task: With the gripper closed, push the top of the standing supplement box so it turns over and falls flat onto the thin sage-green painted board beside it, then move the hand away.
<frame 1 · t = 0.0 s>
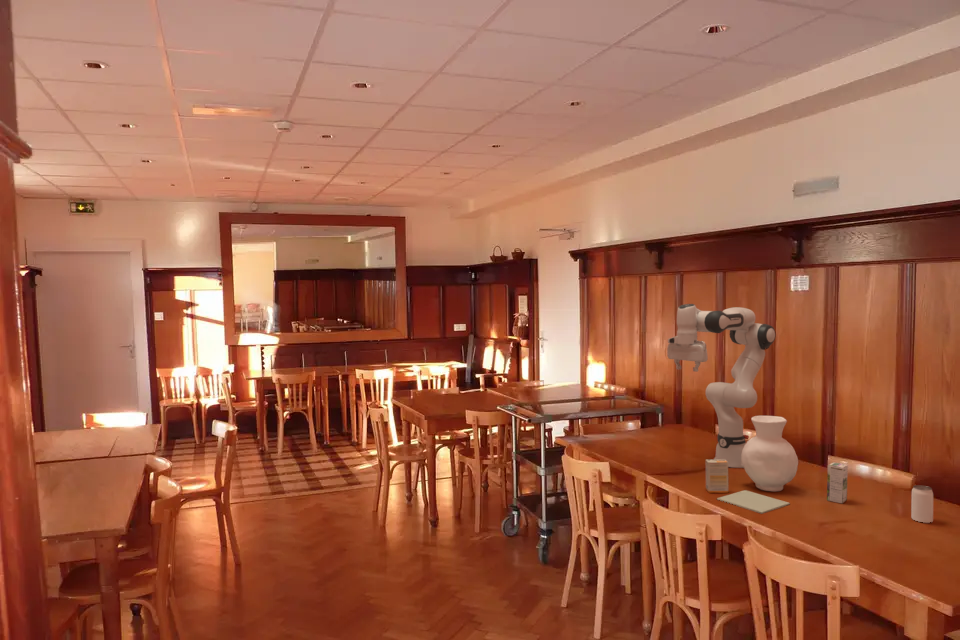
hand: (687, 370, 293), 48 cm above the table, fingers open, 8 cm apart
vase: (769, 488, 274), on the table
board: (752, 502, 257), on the table
syrup box: (837, 501, 256), on the table
supplement box: (716, 491, 271), on the table
can: (922, 520, 234), on the table
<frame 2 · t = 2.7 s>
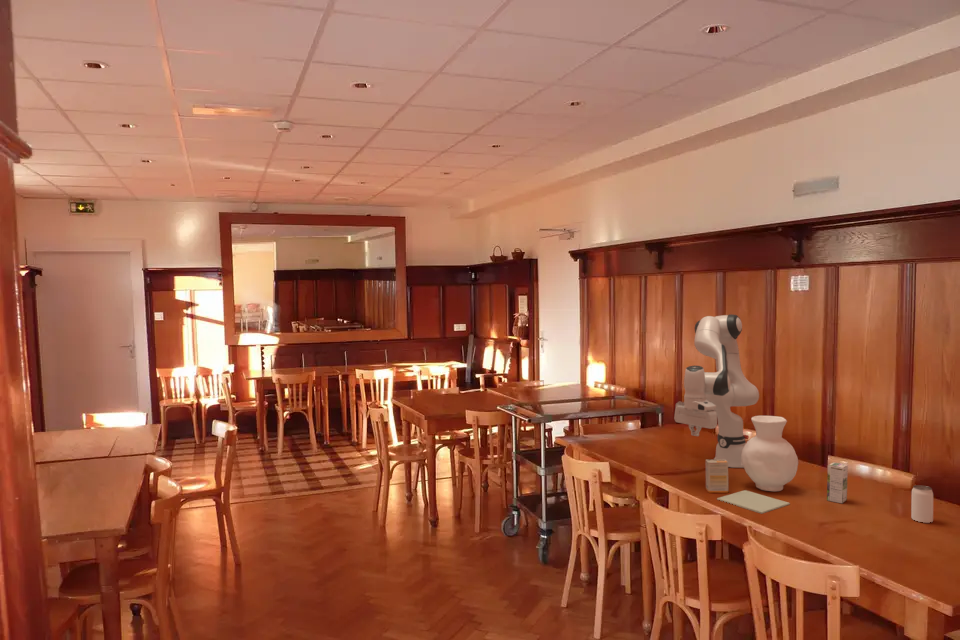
hand: (695, 435, 279), 22 cm above the table, fingers closed
nothing on the table moved.
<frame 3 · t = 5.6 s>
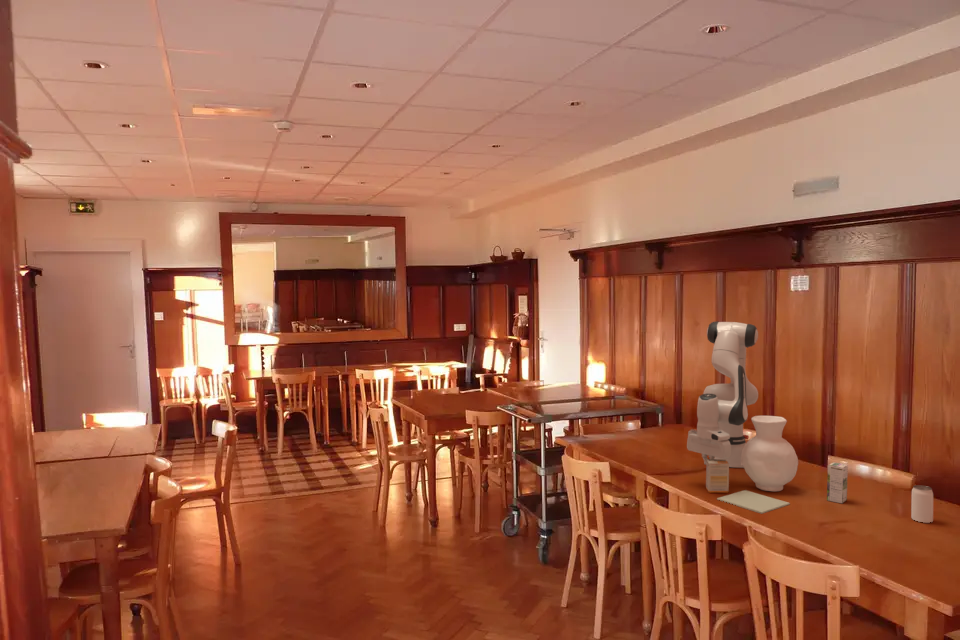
hand: (708, 464, 274), 10 cm above the table, fingers closed
supplement box: (716, 491, 271), on the table, touching gripper
everything else where it was.
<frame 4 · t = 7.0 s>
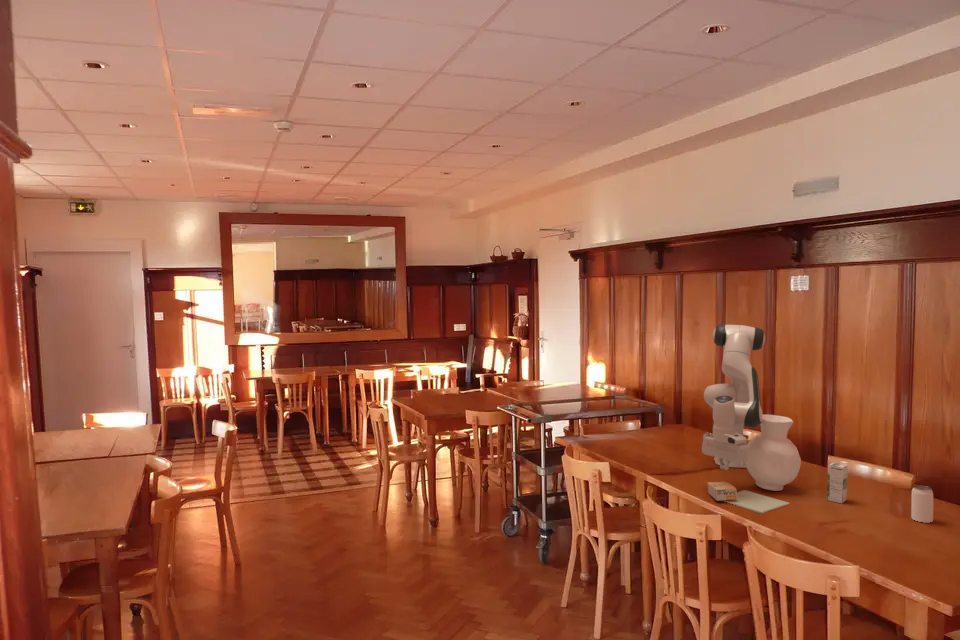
hand: (724, 469, 267), 10 cm above the table, fingers closed
vase: (769, 487, 274), on the table, touching arm
supplement box: (716, 486, 269), point 2 cm above the table, touching board
everything else where it was.
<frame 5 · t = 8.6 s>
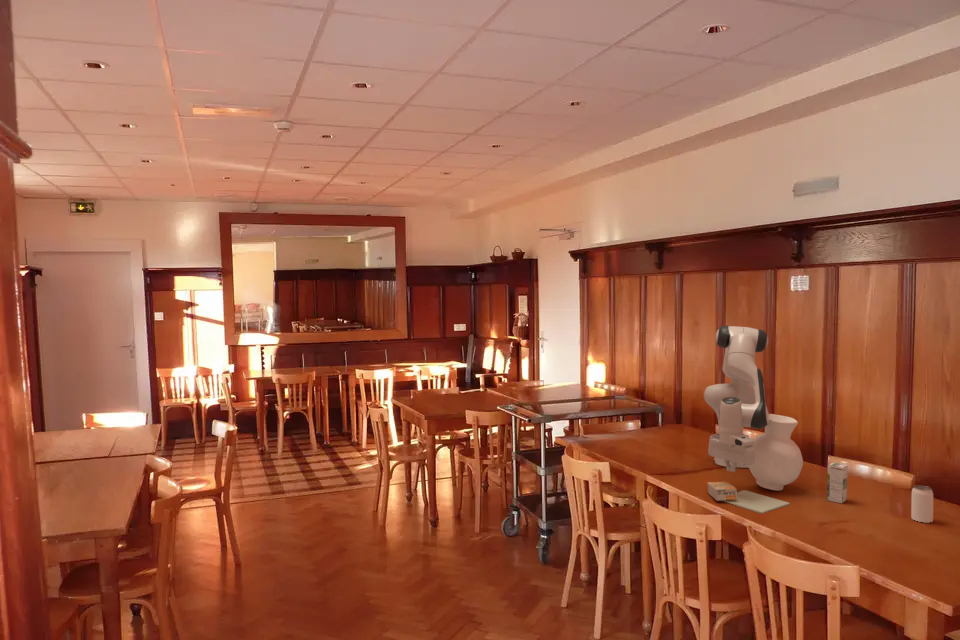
hand: (731, 471, 265), 10 cm above the table, fingers closed
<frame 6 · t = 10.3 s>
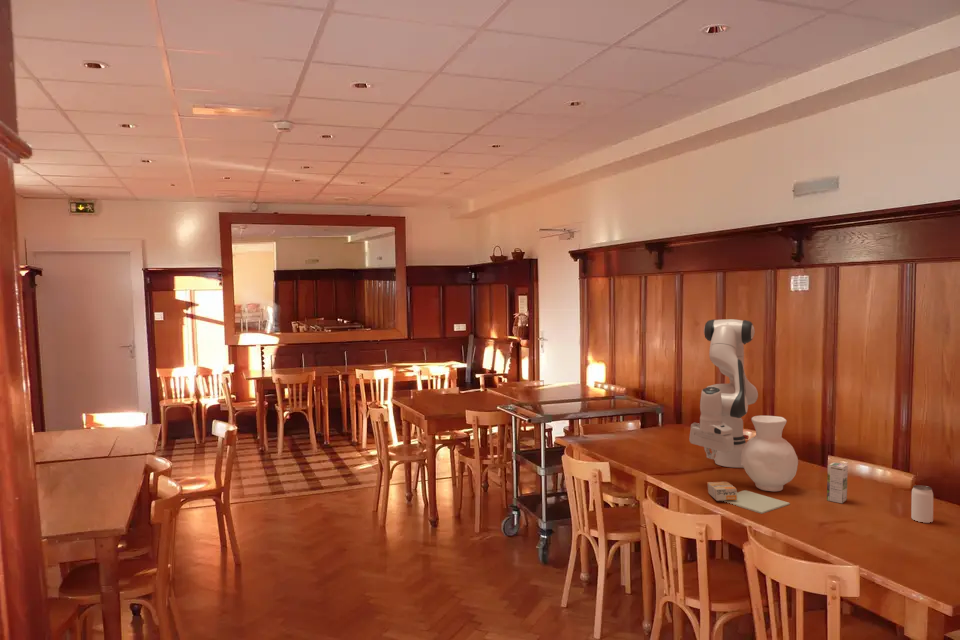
hand: (710, 458, 274), 13 cm above the table, fingers closed
vase: (768, 488, 274), on the table
everything else where it was.
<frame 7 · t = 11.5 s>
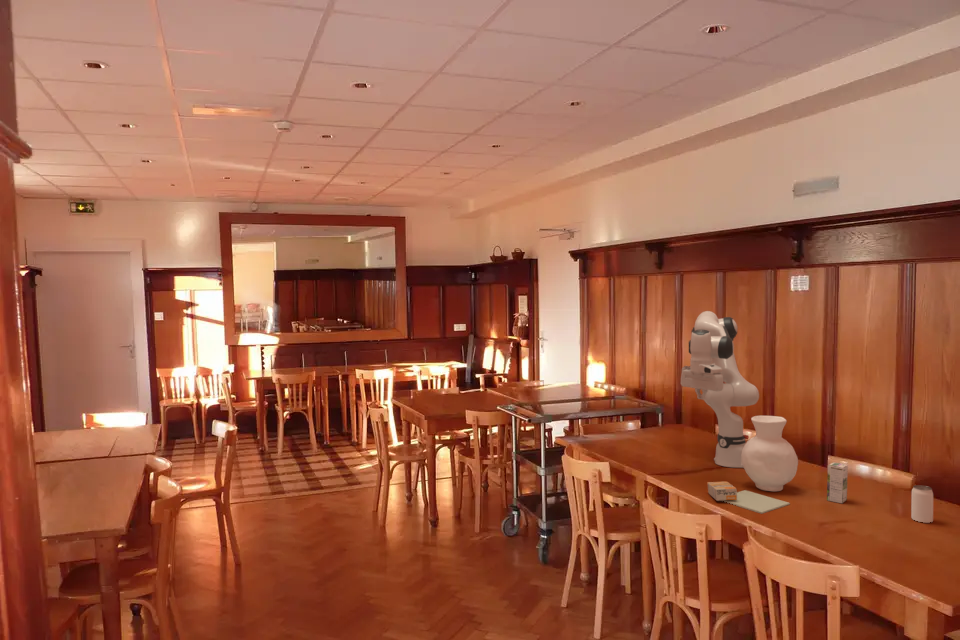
hand: (701, 399, 281), 37 cm above the table, fingers closed
nothing on the table moved.
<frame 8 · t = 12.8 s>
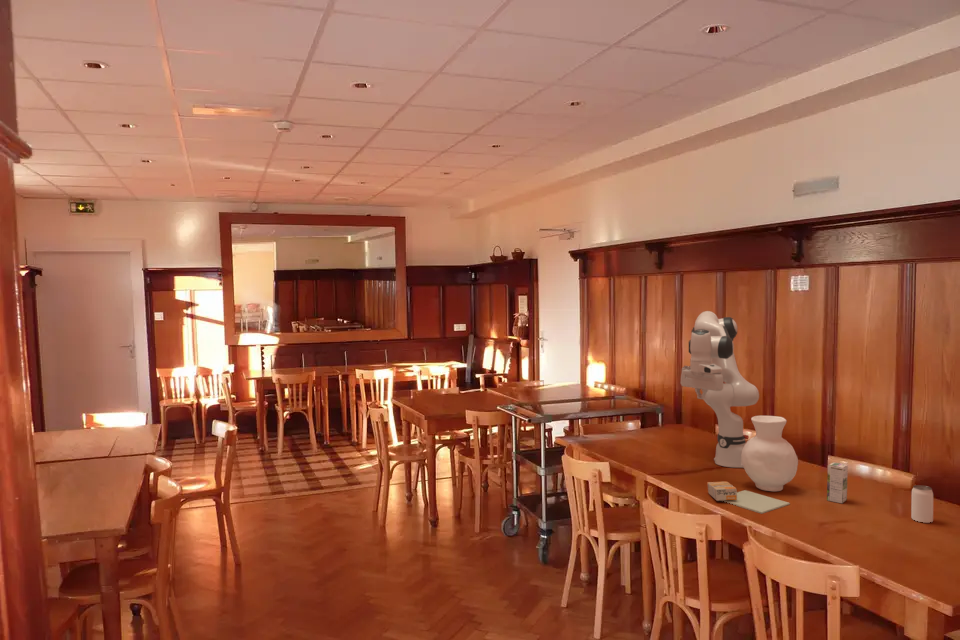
hand: (701, 398, 281), 37 cm above the table, fingers closed
nothing on the table moved.
at the end: supplement box tilted 86°; supplement box inside the target area on the board (14.4 cm from its centre), point 2.5 cm above the board's base; the gripper is holding nothing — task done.
